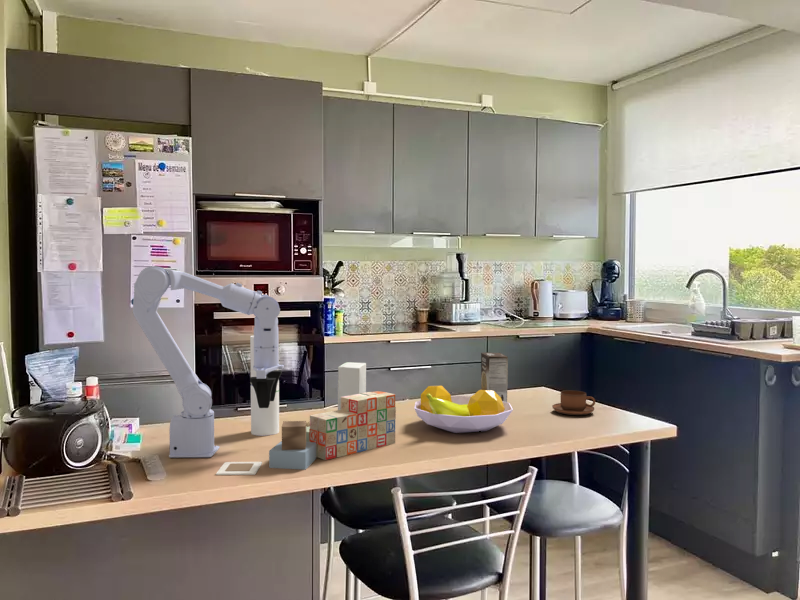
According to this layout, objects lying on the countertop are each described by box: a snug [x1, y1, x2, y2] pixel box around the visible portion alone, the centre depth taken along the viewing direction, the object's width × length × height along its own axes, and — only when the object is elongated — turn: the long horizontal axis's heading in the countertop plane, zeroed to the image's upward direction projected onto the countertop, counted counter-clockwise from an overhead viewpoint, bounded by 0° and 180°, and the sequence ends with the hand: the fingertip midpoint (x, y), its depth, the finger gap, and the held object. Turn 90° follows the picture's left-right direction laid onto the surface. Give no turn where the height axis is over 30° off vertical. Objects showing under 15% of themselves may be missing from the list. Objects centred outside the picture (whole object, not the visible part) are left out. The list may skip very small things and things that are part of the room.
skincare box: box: [337, 361, 367, 410], centre depth 183 cm, size 8×7×16 cm
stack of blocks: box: [309, 390, 397, 461], centre depth 153 cm, size 21×6×12 cm, turn 134°
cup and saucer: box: [552, 389, 596, 416], centre depth 192 cm, size 12×12×6 cm
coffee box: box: [480, 351, 509, 403], centre depth 201 cm, size 9×6×16 cm
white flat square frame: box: [215, 461, 263, 476], centre depth 138 cm, size 8×8×1 cm
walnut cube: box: [281, 420, 307, 450], centre depth 141 cm, size 5×5×5 cm
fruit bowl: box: [413, 385, 514, 434], centre depth 174 cm, size 28×27×11 cm
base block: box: [268, 440, 317, 471], centre depth 142 cm, size 8×8×4 cm
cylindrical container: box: [249, 334, 280, 437], centre depth 168 cm, size 7×7×25 cm
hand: (266, 404), depth 153 cm, fingers open, 7 cm apart
